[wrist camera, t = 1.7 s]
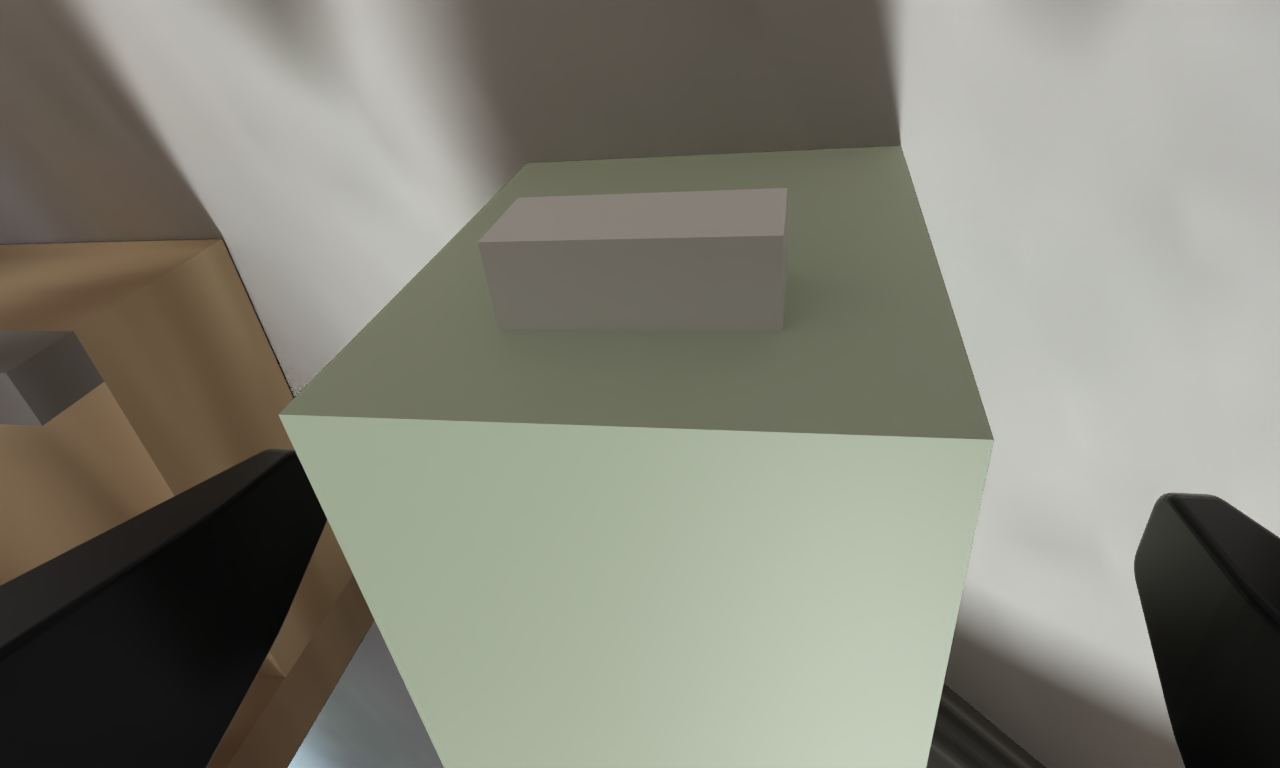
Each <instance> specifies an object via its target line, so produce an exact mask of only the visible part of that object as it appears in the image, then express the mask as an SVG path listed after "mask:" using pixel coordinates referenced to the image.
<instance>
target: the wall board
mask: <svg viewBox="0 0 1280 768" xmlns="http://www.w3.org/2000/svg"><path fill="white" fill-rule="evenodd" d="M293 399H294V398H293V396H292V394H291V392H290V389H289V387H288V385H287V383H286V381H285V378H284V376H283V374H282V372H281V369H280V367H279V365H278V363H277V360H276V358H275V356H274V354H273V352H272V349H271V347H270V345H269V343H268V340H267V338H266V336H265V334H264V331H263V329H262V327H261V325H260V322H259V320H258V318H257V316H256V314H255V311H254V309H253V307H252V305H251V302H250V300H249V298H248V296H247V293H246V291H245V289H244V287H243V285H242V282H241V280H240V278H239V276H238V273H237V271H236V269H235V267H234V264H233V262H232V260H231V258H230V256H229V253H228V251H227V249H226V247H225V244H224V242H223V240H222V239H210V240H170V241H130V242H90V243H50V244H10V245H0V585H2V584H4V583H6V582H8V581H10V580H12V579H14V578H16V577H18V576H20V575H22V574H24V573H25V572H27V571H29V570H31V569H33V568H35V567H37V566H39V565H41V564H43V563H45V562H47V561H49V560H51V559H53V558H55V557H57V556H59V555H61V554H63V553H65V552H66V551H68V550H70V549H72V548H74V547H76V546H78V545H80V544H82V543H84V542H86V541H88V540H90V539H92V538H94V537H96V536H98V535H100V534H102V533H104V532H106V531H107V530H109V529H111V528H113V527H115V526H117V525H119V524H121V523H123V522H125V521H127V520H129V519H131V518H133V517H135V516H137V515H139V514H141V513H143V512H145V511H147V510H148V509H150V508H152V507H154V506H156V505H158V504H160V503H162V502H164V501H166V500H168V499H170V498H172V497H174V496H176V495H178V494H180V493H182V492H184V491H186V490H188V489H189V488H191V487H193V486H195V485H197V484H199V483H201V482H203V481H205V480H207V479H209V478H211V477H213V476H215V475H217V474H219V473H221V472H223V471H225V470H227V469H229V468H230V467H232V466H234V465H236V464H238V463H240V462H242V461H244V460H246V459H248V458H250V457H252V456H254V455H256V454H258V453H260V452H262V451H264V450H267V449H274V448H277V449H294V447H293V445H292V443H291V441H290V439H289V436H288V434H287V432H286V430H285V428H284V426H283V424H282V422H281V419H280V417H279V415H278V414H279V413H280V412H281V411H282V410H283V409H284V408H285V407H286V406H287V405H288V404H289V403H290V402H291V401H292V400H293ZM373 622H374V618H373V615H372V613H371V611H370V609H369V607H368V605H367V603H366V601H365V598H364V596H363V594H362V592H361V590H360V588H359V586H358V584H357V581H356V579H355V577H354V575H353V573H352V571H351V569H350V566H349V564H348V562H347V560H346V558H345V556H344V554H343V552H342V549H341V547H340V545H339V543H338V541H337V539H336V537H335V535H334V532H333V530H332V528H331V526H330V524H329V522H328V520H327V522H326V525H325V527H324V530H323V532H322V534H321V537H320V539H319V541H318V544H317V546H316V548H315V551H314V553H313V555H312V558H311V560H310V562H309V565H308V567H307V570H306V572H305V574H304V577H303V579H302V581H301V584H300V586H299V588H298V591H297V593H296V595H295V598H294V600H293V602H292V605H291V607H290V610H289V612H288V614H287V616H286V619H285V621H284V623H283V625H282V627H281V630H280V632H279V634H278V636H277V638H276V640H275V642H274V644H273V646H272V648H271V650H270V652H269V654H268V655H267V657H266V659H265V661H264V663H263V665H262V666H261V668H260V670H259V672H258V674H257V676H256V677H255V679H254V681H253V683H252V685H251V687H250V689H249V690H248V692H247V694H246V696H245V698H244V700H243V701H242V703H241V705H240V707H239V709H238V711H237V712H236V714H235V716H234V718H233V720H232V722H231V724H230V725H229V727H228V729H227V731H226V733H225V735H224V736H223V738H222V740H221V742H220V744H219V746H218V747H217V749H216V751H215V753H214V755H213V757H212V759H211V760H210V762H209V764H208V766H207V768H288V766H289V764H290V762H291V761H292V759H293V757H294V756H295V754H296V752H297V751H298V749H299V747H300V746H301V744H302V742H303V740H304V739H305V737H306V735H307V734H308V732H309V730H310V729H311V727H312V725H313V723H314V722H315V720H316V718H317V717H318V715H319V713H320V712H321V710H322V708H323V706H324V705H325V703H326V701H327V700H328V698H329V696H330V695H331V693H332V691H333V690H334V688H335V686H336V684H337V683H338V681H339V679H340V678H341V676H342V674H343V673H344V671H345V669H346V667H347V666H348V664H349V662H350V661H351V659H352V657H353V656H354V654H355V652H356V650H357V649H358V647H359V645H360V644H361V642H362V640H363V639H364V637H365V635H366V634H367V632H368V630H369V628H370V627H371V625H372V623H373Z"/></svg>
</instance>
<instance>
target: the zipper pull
mask: <svg viewBox="0 0 1280 768" xmlns="http://www.w3.org/2000/svg"><path fill="white" fill-rule="evenodd" d="M926 768H1045V767H1044V766H1043V765H1042V764H1041V763H1039V762H1038V761H1037V760H1036V759H1034V758H1033V757H1032V756H1031V755H1030V754H1028V753H1027V752H1026V751H1025V750H1024V749H1022V748H1021V747H1020V746H1019V745H1018V744H1016V743H1015V742H1014V741H1013V740H1011V739H1010V738H1009V737H1008V736H1007V735H1005V734H1004V733H1003V732H1002V731H1001V730H999V729H998V728H997V727H996V726H995V725H993V724H992V723H991V722H990V721H989V720H987V719H986V718H985V717H984V716H982V715H981V714H980V713H979V712H978V711H976V710H975V709H974V708H973V707H972V706H970V705H969V704H968V703H967V702H966V701H964V700H963V699H962V698H961V697H959V696H958V695H957V694H956V693H955V692H953V691H952V690H951V689H950V688H949V687H947V686H946V685H945V684H943V689H942V694H941V699H940V703H939V708H938V713H937V718H936V723H935V728H934V733H933V737H932V742H931V747H930V752H929V757H928V762H927V766H926Z"/></svg>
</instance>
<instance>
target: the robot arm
mask: <svg viewBox="0 0 1280 768" xmlns="http://www.w3.org/2000/svg"><path fill="white" fill-rule="evenodd" d="M326 522H327V517H326V515H325V513H324V511H323V509H322V507H321V505H320V503H319V500H318V498H317V496H316V494H315V492H314V490H313V488H312V486H311V483H310V481H309V479H308V477H307V475H306V473H305V471H304V468H303V466H302V464H301V462H300V460H299V458H298V456H297V454H296V451H295V449H277V448H274V449H267V450H264V451H262V452H260V453H258V454H256V455H254V456H252V457H250V458H248V459H246V460H244V461H242V462H240V463H238V464H236V465H234V466H232V467H230V468H229V469H227V470H225V471H223V472H221V473H219V474H217V475H215V476H213V477H211V478H209V479H207V480H205V481H203V482H201V483H199V484H197V485H195V486H193V487H191V488H189V489H188V490H186V491H184V492H182V493H180V494H178V495H176V496H174V497H172V498H170V499H168V500H166V501H164V502H162V503H160V504H158V505H156V506H154V507H152V508H150V509H148V510H147V511H145V512H143V513H141V514H139V515H137V516H135V517H133V518H131V519H129V520H127V521H125V522H123V523H121V524H119V525H117V526H115V527H113V528H111V529H109V530H107V531H106V532H104V533H102V534H100V535H98V536H96V537H94V538H92V539H90V540H88V541H86V542H84V543H82V544H80V545H78V546H76V547H74V548H72V549H70V550H68V551H66V552H65V553H63V554H61V555H59V556H57V557H55V558H53V559H51V560H49V561H47V562H45V563H43V564H41V565H39V566H37V567H35V568H33V569H31V570H29V571H27V572H25V573H24V574H22V575H20V576H18V577H16V578H14V579H12V580H10V581H8V582H6V583H4V584H2V585H0V768H207V766H208V764H209V762H210V760H211V759H212V757H213V755H214V753H215V751H216V749H217V747H218V746H219V744H220V742H221V740H222V738H223V736H224V735H225V733H226V731H227V729H228V727H229V725H230V724H231V722H232V720H233V718H234V716H235V714H236V712H237V711H238V709H239V707H240V705H241V703H242V701H243V700H244V698H245V696H246V694H247V692H248V690H249V689H250V687H251V685H252V683H253V681H254V679H255V677H256V676H257V674H258V672H259V670H260V668H261V666H262V665H263V663H264V661H265V659H266V657H267V655H268V654H269V652H270V650H271V648H272V646H273V644H274V642H275V640H276V638H277V636H278V634H279V632H280V630H281V627H282V625H283V623H284V621H285V619H286V616H287V614H288V612H289V610H290V607H291V605H292V602H293V600H294V598H295V595H296V593H297V591H298V588H299V586H300V584H301V581H302V579H303V577H304V574H305V572H306V570H307V567H308V565H309V562H310V560H311V558H312V555H313V553H314V551H315V548H316V546H317V544H318V541H319V539H320V537H321V534H322V532H323V530H324V527H325V525H326ZM1134 573H1135V580H1136V584H1137V588H1138V592H1139V596H1140V601H1141V605H1142V609H1143V613H1144V617H1145V621H1146V625H1147V629H1148V633H1149V637H1150V641H1151V645H1152V650H1153V654H1154V658H1155V662H1156V666H1157V670H1158V674H1159V678H1160V682H1161V686H1162V690H1163V694H1164V699H1165V703H1166V707H1167V711H1168V714H1169V718H1170V721H1171V725H1172V729H1173V732H1174V736H1175V739H1176V742H1177V745H1178V747H1179V750H1180V753H1181V756H1182V759H1183V762H1184V765H1185V767H1186V768H1280V538H1279V537H1278V536H1276V535H1275V534H1273V533H1272V532H1270V531H1269V530H1267V529H1266V528H1264V527H1263V526H1261V525H1260V524H1258V523H1257V522H1255V521H1254V520H1253V519H1251V518H1250V517H1248V516H1247V515H1245V514H1244V513H1242V512H1241V511H1239V510H1238V509H1236V508H1235V507H1233V506H1232V505H1230V504H1229V503H1227V502H1226V501H1224V500H1222V499H1221V498H1219V497H1216V496H1213V495H1207V494H1188V493H1167V494H1164V495H1162V496H1161V497H1160V498H1159V499H1158V500H1157V502H1156V503H1155V505H1154V507H1153V510H1152V513H1151V515H1150V518H1149V520H1148V523H1147V526H1146V528H1145V531H1144V533H1143V536H1142V539H1141V541H1140V544H1139V546H1138V549H1137V552H1136V555H1135V561H1134Z"/></svg>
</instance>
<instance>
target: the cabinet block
mask: <svg viewBox="0 0 1280 768" xmlns="http://www.w3.org/2000/svg"><path fill="white" fill-rule="evenodd" d="M278 415H279V417H280V419H281V422H282V424H283V426H284V428H285V430H286V432H287V434H288V436H289V439H290V441H291V443H292V445H293V447H294V449H295V451H296V454H297V456H298V458H299V460H300V462H301V464H302V466H303V468H304V471H305V473H306V475H307V477H308V479H309V481H310V483H311V486H312V488H313V490H314V492H315V494H316V496H317V498H318V500H319V503H320V505H321V507H322V509H323V511H324V513H325V515H326V517H327V520H328V522H329V524H330V526H331V528H332V530H333V532H334V535H335V537H336V539H337V541H338V543H339V545H340V547H341V549H342V552H343V554H344V556H345V558H346V560H347V562H348V564H349V566H350V569H351V571H352V573H353V575H354V577H355V579H356V581H357V584H358V586H359V588H360V590H361V592H362V594H363V596H364V598H365V601H366V603H367V605H368V607H369V609H370V611H371V613H372V615H373V618H374V620H375V622H376V624H377V626H378V628H379V630H380V633H381V635H382V637H383V639H384V641H385V643H386V645H387V647H388V650H389V652H390V654H391V656H392V658H393V660H394V662H395V665H396V667H397V669H398V671H399V673H400V675H401V677H402V679H403V682H404V684H405V686H406V688H407V690H408V692H409V694H410V696H411V699H412V701H413V703H414V705H415V707H416V709H417V711H418V714H419V716H420V718H421V720H422V722H423V724H424V726H425V728H426V731H427V733H428V735H429V737H430V739H431V741H432V743H433V745H434V748H435V750H436V752H437V754H438V756H439V758H440V760H441V763H442V765H443V767H444V768H926V766H927V762H928V757H929V752H930V747H931V742H932V737H933V733H934V728H935V723H936V718H937V713H938V708H939V703H940V699H941V694H942V689H943V684H944V679H945V674H946V670H947V665H948V660H949V655H950V650H951V645H952V640H953V636H954V631H955V626H956V621H957V616H958V611H959V607H960V602H961V597H962V592H963V587H964V582H965V577H966V573H967V568H968V563H969V558H970V553H971V548H972V544H973V539H974V534H975V529H976V524H977V519H978V514H979V510H980V505H981V500H982V495H983V490H984V485H985V481H986V476H987V471H988V466H989V461H990V456H991V451H992V447H993V442H994V439H993V435H992V432H991V429H990V426H989V423H988V420H987V416H986V413H985V410H984V407H983V404H982V401H981V397H980V394H979V391H978V388H977V385H976V382H975V378H974V375H973V372H972V369H971V366H970V363H969V360H968V356H967V353H966V350H965V347H964V344H963V341H962V337H961V334H960V331H959V328H958V325H957V322H956V318H955V315H954V312H953V309H952V306H951V303H950V299H949V296H948V293H947V290H946V287H945V284H944V280H943V277H942V274H941V271H940V268H939V265H938V261H937V258H936V255H935V252H934V249H933V246H932V243H931V239H930V236H929V233H928V230H927V227H926V224H925V220H924V217H923V214H922V211H921V208H920V205H919V201H918V198H917V195H916V192H915V189H914V186H913V182H912V179H911V176H910V173H909V170H908V167H907V163H906V160H905V157H904V154H903V151H902V148H901V146H882V147H861V148H839V149H818V150H796V151H775V152H753V153H732V154H710V155H689V156H667V157H646V158H624V159H603V160H582V161H560V162H539V163H527V164H526V165H525V166H524V167H523V168H522V169H521V170H520V171H519V172H518V173H517V174H516V175H515V176H514V177H513V178H512V179H511V180H510V181H509V182H508V183H507V184H506V185H505V186H504V187H503V188H502V189H501V190H500V191H499V192H498V193H497V194H496V195H495V196H494V197H493V198H492V199H491V200H490V201H489V202H488V203H487V204H486V205H485V206H484V207H483V208H482V209H481V210H480V211H479V212H478V213H477V214H476V215H475V216H474V217H473V218H472V219H471V220H470V221H469V222H468V223H467V224H466V225H465V226H464V227H463V228H462V229H461V230H460V231H459V232H458V233H457V234H456V235H455V236H454V237H453V238H452V239H451V240H450V242H449V243H448V244H447V245H446V246H445V247H444V248H443V249H442V250H441V251H440V252H439V253H438V254H437V255H436V256H435V257H434V258H433V259H432V260H431V261H430V262H429V263H428V264H427V265H426V266H425V267H424V268H423V269H422V270H421V271H420V272H419V273H418V274H417V275H416V276H415V277H414V278H413V279H412V280H411V281H410V282H409V283H408V284H407V285H406V286H405V287H404V288H403V289H402V290H401V291H400V292H399V293H398V294H397V295H396V296H395V297H394V298H393V299H392V300H391V301H390V302H389V303H388V304H387V305H386V306H385V307H384V308H383V309H382V310H381V311H380V312H379V313H378V314H377V315H376V316H375V317H374V318H373V319H372V320H371V321H370V322H369V323H368V324H367V325H366V326H365V327H364V328H363V329H362V330H361V331H360V332H359V333H358V334H357V335H356V336H355V337H354V338H353V339H352V341H351V342H350V343H349V344H348V345H347V346H346V347H345V348H344V349H343V350H342V351H341V352H340V353H339V354H338V355H337V356H336V357H335V358H334V359H333V360H332V361H331V362H330V363H329V364H328V365H327V366H326V367H325V368H324V369H323V370H322V371H321V372H320V373H319V374H318V375H317V376H316V377H315V378H314V379H313V380H312V381H311V382H310V383H309V384H308V385H307V386H306V387H305V388H304V389H303V390H302V391H301V392H300V393H299V394H298V395H297V396H296V397H295V398H294V399H293V400H292V401H291V402H290V403H289V404H288V405H287V406H286V407H285V408H284V409H283V410H282V411H281V412H280V413H279V414H278Z"/></svg>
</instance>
